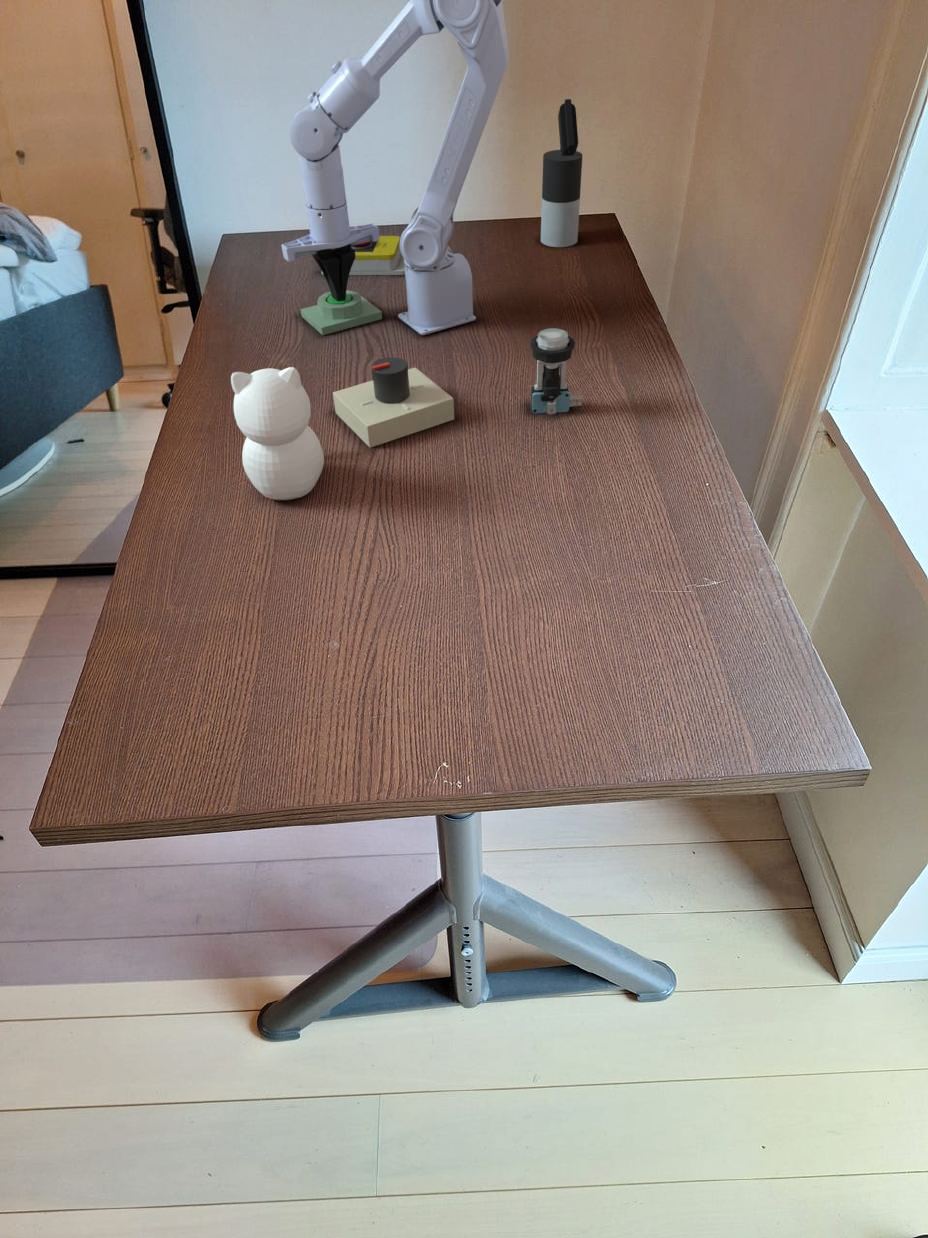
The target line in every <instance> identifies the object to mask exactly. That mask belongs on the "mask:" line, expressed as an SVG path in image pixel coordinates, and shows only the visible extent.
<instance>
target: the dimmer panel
mask: <svg viewBox="0 0 928 1238" xmlns="http://www.w3.org/2000/svg"><path fill="white" fill-rule="evenodd" d="M408 377H409V389H410V395H409V397H408V398H407V399H406V400H404V401H402V402H398V403H383V402H380V401H378V400H377V399H376V398H375V392H374V384H373V379H372V380H369V381H366V382H362V383H359V384H356V385H352V386H349V387H346V388H343V389H339V390H337V391H333V392H332V397H333V398H332V399H333V404H334V411H335V415H337V416H338V417H339V418H340V419H341V420H342V421H343V422H344V423H345V424H346V425H347V426H348V427H349V428H350V429H351V430H352V431H353V432H354V434H356V436H358V438H360V440H361V441H363V442H364V443H365V445H367V446H368V448H370V449H372V448H374V447H376V446H379V445H382V444H385V443H389V442H392V441H394V440H397V439H400V438H403V437H407V436H409V435H412V434H416V433H419V432H421V431H424V430H428V429H430V428H433V427H436V426H439V425H442V424H445V423H448V422H452V421H454V420H455V404H454V403H455V401H454V398H453V396H451V395H450V394H449V393H448V392H446V391H445V390H444V389H443V388H441V387H440V386H439V385H438V384H437V383H435V382H434V381H433V380H431V379H430V378H429V377H428V376H427V375H425V374H424V373H423V372H422V371H421V370H419V369H418V368H417V367H411V368H408Z"/></svg>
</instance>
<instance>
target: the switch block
mask: <svg viewBox="0 0 928 1238" xmlns="http://www.w3.org/2000/svg"><path fill="white" fill-rule="evenodd" d="M346 294H348V295H350V296H351V301H350V302H349V303H345V304H337V305H334V304H329V303H328V301H327V299H328V297H329V296H331V295H332V294H331V291H329V292H328V291H327V292H324V293H323V294H322V295H319V296H318V298H317V302H316V303H317V304H315V305H312V306H308V307H304V308H300V315H301V318H302V319H304V320H305V321H306V322H307V323H308V324H309V325H310V326H311V327H312V328H314V329H315V330H316V331H317V332H318V333H319V334H321V336H325V335H329V334H333V333H336V332H337V333H338V332H340V331H344V330H347V329H350V328H354V327H359V326H362V325H366V324H370V323H373V322H376V321H380V320H382V319H383V312H382V310H381V309H379V308H378V307H377V306H375V305H374V304H372V303H371V302H370V301H369V300H367V299H366V298H365V297H364V296H362V295H361V294H360V293H358V292H357V291H353V290H348V289H346Z"/></svg>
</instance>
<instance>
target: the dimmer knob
mask: <svg viewBox="0 0 928 1238" xmlns="http://www.w3.org/2000/svg"><path fill="white" fill-rule="evenodd" d="M408 369H409V366H408V363H407V360H405V359H403V358H402V357H401V358H400V357H395V356H387V357H382V358H379V359H377V360H375V361H373V363H372V364H371V374H372V380H373V384H374V392H375V398H376V399H377V400H378V401H380V402H383V403H398V402H402V401H404V400H406V399H407V398H408V397H409V395H410V389H409V377H408Z"/></svg>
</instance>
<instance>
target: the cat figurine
mask: <svg viewBox="0 0 928 1238" xmlns="http://www.w3.org/2000/svg"><path fill="white" fill-rule="evenodd" d="M230 384H231V385H230V386H231V388H232V391H233V392H234V397H233V406H232V407H233V417H234V419H235V423H236V425H237V427H238V428H239V430H240V432H241V433H242V435H244V436H245V440H244V443H243V446H242V451H241V452H242V455H241V457H242V466H243V469H244V472H245V475H246V477H247V478H248V480H249V481H250V483H251V484H252V485H253V487H254V488H255V489H256V490H257V491H258V492H259V493H260V494H261V495H262V496H263V497H265V498H267V499H270V500H274V501H289V500H290V501H291V500H294V499H299V498H303V497H305V496H306V495H308V494H309V493H310V492H311V491H312V490H313V489H314V487H315V486H316V485H317V482H318V480H319V478H320V476H321V474H322V472H323V469H324V464H325V454H324V450H323V447H322V445H321V442H320V440H319V438H318V436H317V434H316V433H315V432H314V430H313V429H312V428H311V427H310V425H309V423H310V419H311V414H312V413H311V401H310V397H309V395H308V393H307V391H306V390H305V388H304V386H303V385H302V381H301V375H300V373H299V371H298V370H297V368H295V367H294V366H289V367H285V368H283V369H282V370H281V369H278V368H273V367H270V368H268V367H267V368H262V369H258V370H255V371H252V372H251V373H247V372H243V371H234V372H232V373H231V375H230Z"/></svg>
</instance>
